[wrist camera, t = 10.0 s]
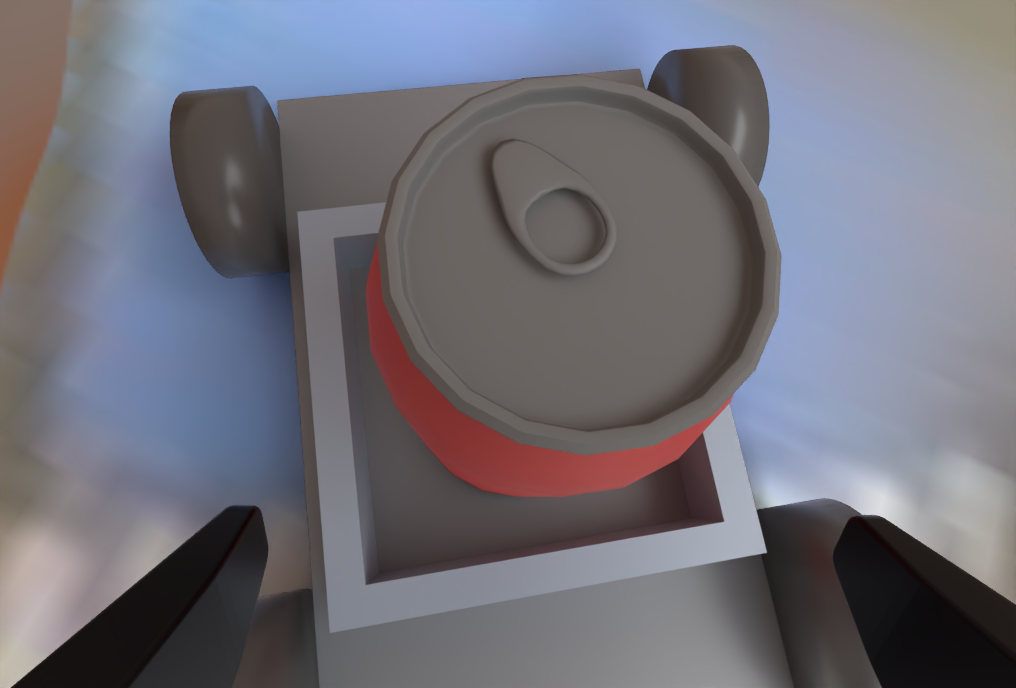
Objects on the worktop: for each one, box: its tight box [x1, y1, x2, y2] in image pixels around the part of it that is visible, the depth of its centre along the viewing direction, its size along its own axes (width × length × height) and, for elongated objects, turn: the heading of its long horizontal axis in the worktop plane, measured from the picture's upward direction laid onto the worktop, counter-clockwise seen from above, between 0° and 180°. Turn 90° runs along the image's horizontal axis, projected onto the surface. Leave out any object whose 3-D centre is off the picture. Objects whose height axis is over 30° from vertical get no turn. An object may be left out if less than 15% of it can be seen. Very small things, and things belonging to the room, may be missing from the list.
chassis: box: [170, 45, 882, 688], centre depth 18 cm, size 24×18×6 cm
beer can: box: [366, 74, 781, 497], centre depth 14 cm, size 7×7×12 cm
